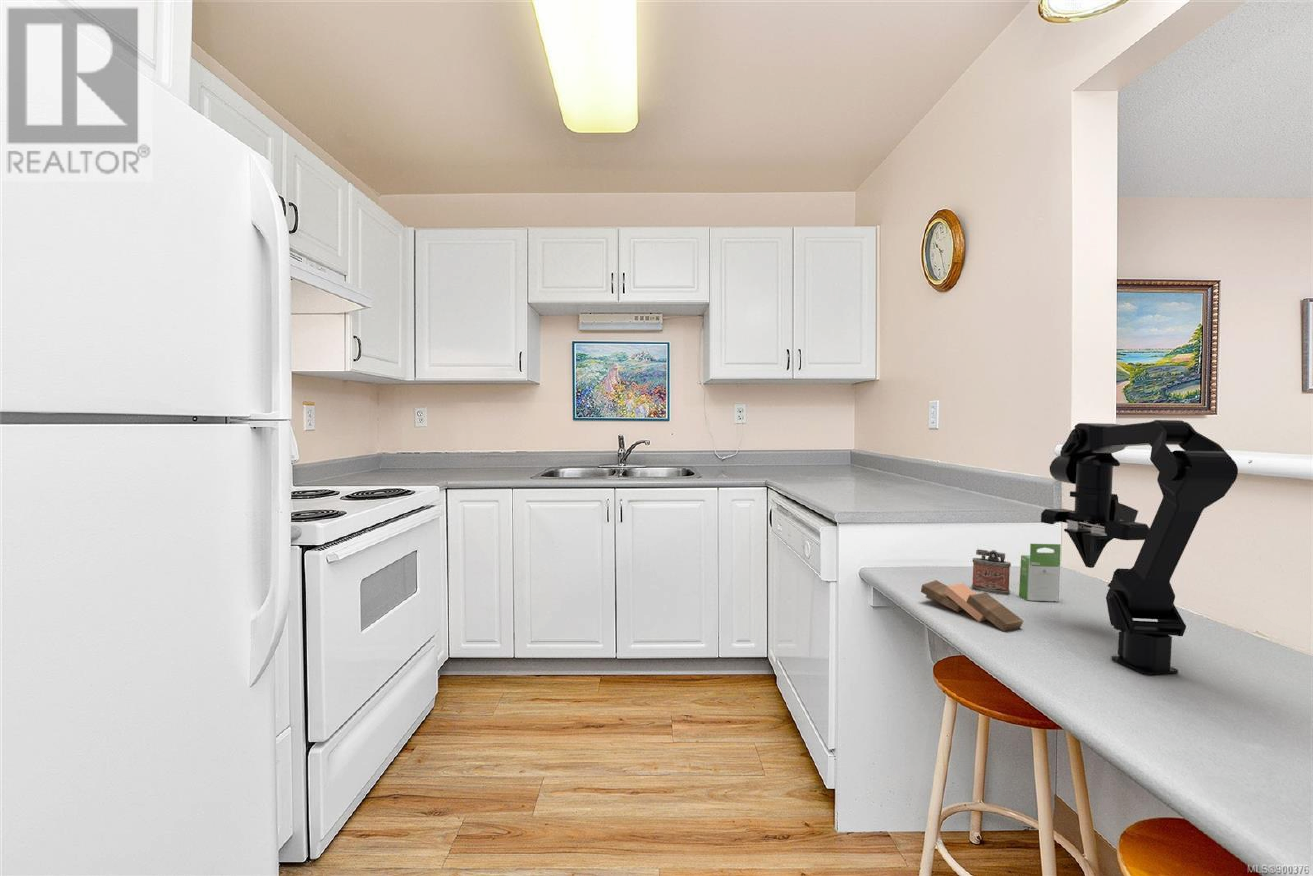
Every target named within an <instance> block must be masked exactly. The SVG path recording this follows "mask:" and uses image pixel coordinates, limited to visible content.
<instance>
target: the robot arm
mask: <svg viewBox="0 0 1313 876" xmlns="http://www.w3.org/2000/svg"><path fill="white" fill-rule="evenodd" d="M1167 445H1169V446H1170V445H1172V446H1175V445H1176V446H1178V447H1180V449H1182V450H1178V449H1176V450H1173V451H1172V450H1171V449H1170V448H1169V447H1168V446H1167ZM1134 446H1135V447H1136V446H1150V447H1151V450H1150V451H1151V452H1150V458H1149V459H1150V462H1151V463H1152V465H1154V467H1155V468H1156V469H1157V471H1158V475H1157V483H1158V486H1159V489H1160V491H1161V494H1162V498H1161V499H1162V500H1161V502H1160V504H1159V506H1158V508H1157V511H1156V513H1155V515H1154V518H1153V521H1152V522H1151V524H1150V527H1149V526H1148V524H1147V523H1144V522H1143V523H1142V522H1137V521H1136V520H1137V516H1138V513H1139V510H1138V509H1135V508H1133V507H1131V506H1128V505H1126V504H1123V503H1121V502H1119V496H1118V494H1117V493H1113V474H1114V473H1113V472H1114V467H1119V466H1120V465H1121V463H1120V461H1119V460H1118V459H1116V458H1115V457H1114V455H1113V454H1114V453H1117V452H1121V451H1123V450H1125V448H1127V447H1134ZM1060 449H1061V450H1060V454H1059V456H1056V457H1055V458H1054V459H1053V460H1052V461H1051V463H1050V465H1049V473H1050V475H1051V476H1052V479H1054V480H1056V481H1059V482H1062V483H1067V484H1072V485H1075V489H1074V491H1069V497H1072V498H1074V510H1072V509H1066V508H1045V509H1044V510H1043V511H1042V512H1041V515H1040V523H1044V524H1047V525H1055V524H1056V523H1058V522H1060V523H1065V524H1067V528H1064V529H1063V531H1064V532H1065V533H1067V535H1068V536H1069V538H1070V539H1071V541H1072V542H1073V545H1074V547H1076V550H1077V552H1078V553H1079V556H1080V558H1081V560H1082V562H1083V564H1084V566H1085V567H1086V568H1090V569H1093V568H1095V567H1096V564H1097V562H1098V561H1099V559H1100V556H1101V554H1102V553H1103V551H1104V549H1105V547H1106V546H1107V545H1108V543H1109V542H1111V541H1112V540H1113V539H1117V540H1121V541H1143V544H1142V545H1141V548H1140V550H1139V553H1138V555H1137V557H1136V560H1135V562H1134V565H1133V566H1132V567H1131V568H1121V567H1120V568H1116V569H1115V571H1113V575H1112V578H1111V581H1110V582H1109V583H1108V584H1107V587H1108V590H1107V593H1106V597H1105V601H1106V606H1107V612H1108V618H1109V623H1110V625H1111V626H1113V629H1114V630H1116V631H1119V632H1118V638H1117V639H1118V645H1117V655H1113V656H1111V660H1112V661H1114V662H1117V663H1119V664H1121V665H1123V666H1125V667H1128V668H1130V669H1132V670H1135V671H1136V672H1139V673H1141V674H1144V675H1149V676H1150V675H1165V674H1167V675H1168V674H1178V673H1179V669H1177V668H1175V667H1174V666H1171V663H1172V662H1171V661H1172V643H1173V642H1172V641H1173V637H1172V636H1175V637H1184V635H1185V632H1186V630H1187V629H1186V628H1187V625H1186V623H1185V622H1184V620H1183V618H1182V616H1181V614H1180V613H1179V611H1178V609H1177V607H1176V606H1175V604H1174V603H1175V599H1176V594H1175V592H1174V589H1173V587H1172V585H1171V580H1172V576H1174V575H1173V574H1174V573H1175V570H1176V568H1177V566H1178V564H1179V562H1180V559H1181V557H1182V555H1183V554H1184V551H1185V549H1186V547H1187V546H1188V543H1189V541H1190V539H1191V538H1192V537H1191V536H1192V534H1193V532H1194V531H1195V528H1196V526H1197V524H1198V521H1199V519H1200V517H1201V516H1202V513H1203V511H1204V510H1205V509H1207V508H1208V507H1210V506H1211V505H1213V504H1214V503H1216V502H1218V501H1219V500H1221V499H1222V498H1224V497H1225V496H1226V495H1227V493H1228V492H1229V491H1230V489H1231V487H1232V486H1233V485H1234V483H1235V482H1236V480H1237V479H1238V476H1239V475H1238V474H1239V469H1238V465H1237V463H1236V461H1235V460H1234V459H1233V458H1232V456H1230V455H1229V454H1228V452H1226V450H1225V449H1224V448H1223V447H1222V446H1221V444H1219V443H1217V442H1215V441H1214V440H1212V439H1210V438H1208V437H1207V436H1205V435H1203V434H1201V433H1200V432H1198V431H1196V429H1194V427H1193V426H1192V425H1191V424H1190V423H1189V422H1187V421H1186V422H1185V421H1184V420H1178V419H1176V420H1175V419H1155V420H1153V421H1150V422H1147V421H1146V422H1139V423H1138V422H1137V423H1131V424H1117V423H1102V422H1101V423H1100V422H1099V423H1098V422H1097V423H1094V422H1092V423H1090V422H1079V423H1077V424H1075V425H1074V428H1073V429H1071V431H1070V433H1069V434H1068V437H1067V439H1066V441H1065V442H1064V444H1063V445H1062V446H1061V448H1060ZM1134 619H1135V620H1134ZM1136 619H1138V620H1136ZM1139 619H1140V620H1139ZM1141 619H1142V620H1141ZM1150 620H1151V621H1150ZM1152 620H1157V621H1152Z"/></svg>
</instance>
